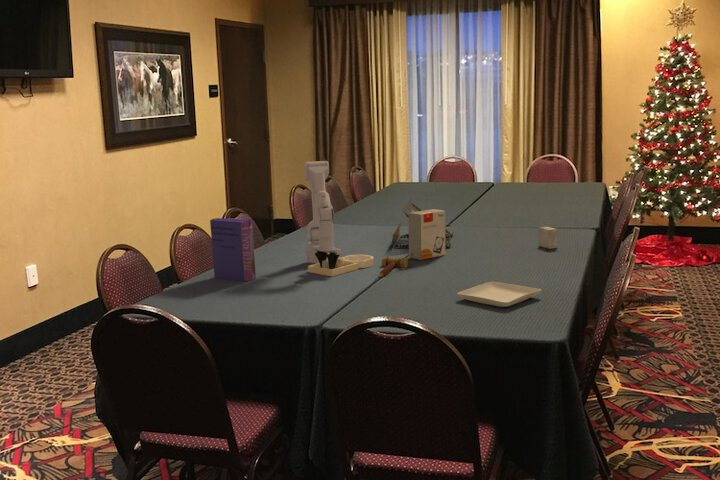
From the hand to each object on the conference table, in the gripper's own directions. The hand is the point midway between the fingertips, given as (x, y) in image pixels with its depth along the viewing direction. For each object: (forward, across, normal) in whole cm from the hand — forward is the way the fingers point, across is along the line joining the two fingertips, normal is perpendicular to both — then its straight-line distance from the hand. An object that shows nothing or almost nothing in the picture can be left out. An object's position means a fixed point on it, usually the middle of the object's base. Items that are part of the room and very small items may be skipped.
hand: (327, 270), depth 318 cm
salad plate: (+2, +78, +6) cm, 78 cm away
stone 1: (+1, 0, 0) cm, 1 cm away
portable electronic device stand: (+2, -9, +72) cm, 73 cm away
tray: (+1, 0, +3) cm, 3 cm away
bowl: (+1, +1, +16) cm, 17 cm away
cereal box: (+2, -26, -28) cm, 38 cm away
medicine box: (+2, +46, +92) cm, 104 cm away
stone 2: (+1, 0, +6) cm, 6 cm away
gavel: (+2, +19, +16) cm, 25 cm away
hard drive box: (+2, +14, +48) cm, 49 cm away
